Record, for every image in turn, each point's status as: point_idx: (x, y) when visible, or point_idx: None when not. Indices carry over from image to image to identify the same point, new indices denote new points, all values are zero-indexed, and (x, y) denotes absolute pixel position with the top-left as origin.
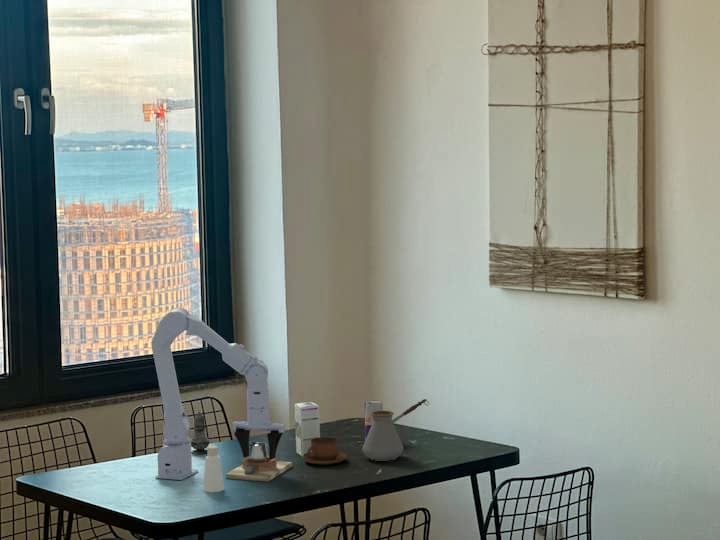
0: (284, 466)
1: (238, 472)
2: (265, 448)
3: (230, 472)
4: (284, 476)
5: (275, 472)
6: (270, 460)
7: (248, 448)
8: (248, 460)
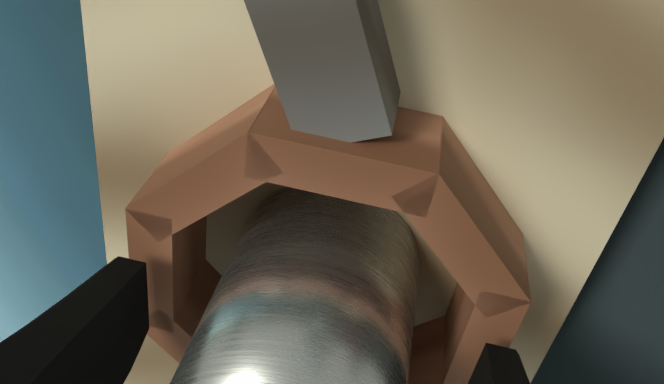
0: (623, 198)
1: None
2: None
3: (135, 362)
4: (614, 340)
5: (530, 379)
6: (459, 344)
7: (94, 330)
8: (180, 267)
